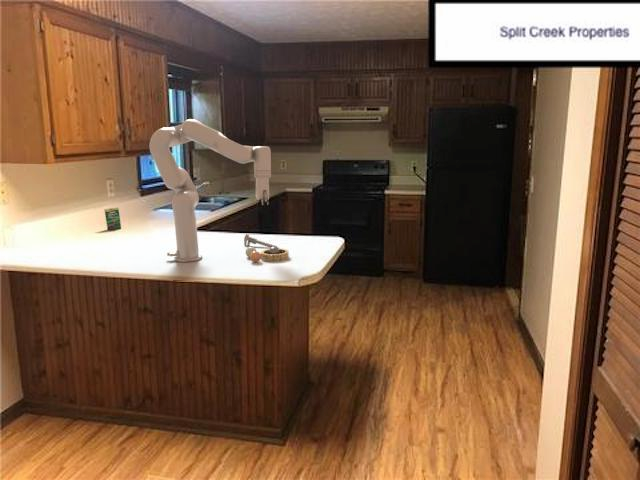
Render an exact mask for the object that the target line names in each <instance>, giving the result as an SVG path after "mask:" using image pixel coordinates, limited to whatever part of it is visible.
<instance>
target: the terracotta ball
mask: <svg viewBox="0 0 640 480" xmlns="http://www.w3.org/2000/svg"><path fill="white" fill-rule="evenodd" d="M249 260H250V261H251V262H253V263H259V261H261V260H262V259H261V252H260V251H257V250H256V251H253V252H252V253H251V254H250V257H249Z"/></svg>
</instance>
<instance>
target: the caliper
mask: <svg viewBox="0 0 640 480" xmlns="http://www.w3.org/2000/svg"><path fill="white" fill-rule="evenodd" d="M251 244H253V245H256V244H258V245H262V246H264V247H268V248H269V249H270V248H272V247H277V248H278V249H280V247H278V246H277V245H274V244H271V243H268V242H265V241H261V240H259V239H257V238H255V237H251V236H250V234H248V233H245V235H244V237H243V246H247V247H250V245H251Z"/></svg>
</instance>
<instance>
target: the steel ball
mask: <svg viewBox="0 0 640 480" xmlns="http://www.w3.org/2000/svg"><path fill="white" fill-rule="evenodd" d="M277 247H278V246H277ZM277 247H272V248H270V247H269V248H268V249H269V254H279V253H280V252H279V249H280V248H279V247H278V248H279V249H278V248H277Z"/></svg>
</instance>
